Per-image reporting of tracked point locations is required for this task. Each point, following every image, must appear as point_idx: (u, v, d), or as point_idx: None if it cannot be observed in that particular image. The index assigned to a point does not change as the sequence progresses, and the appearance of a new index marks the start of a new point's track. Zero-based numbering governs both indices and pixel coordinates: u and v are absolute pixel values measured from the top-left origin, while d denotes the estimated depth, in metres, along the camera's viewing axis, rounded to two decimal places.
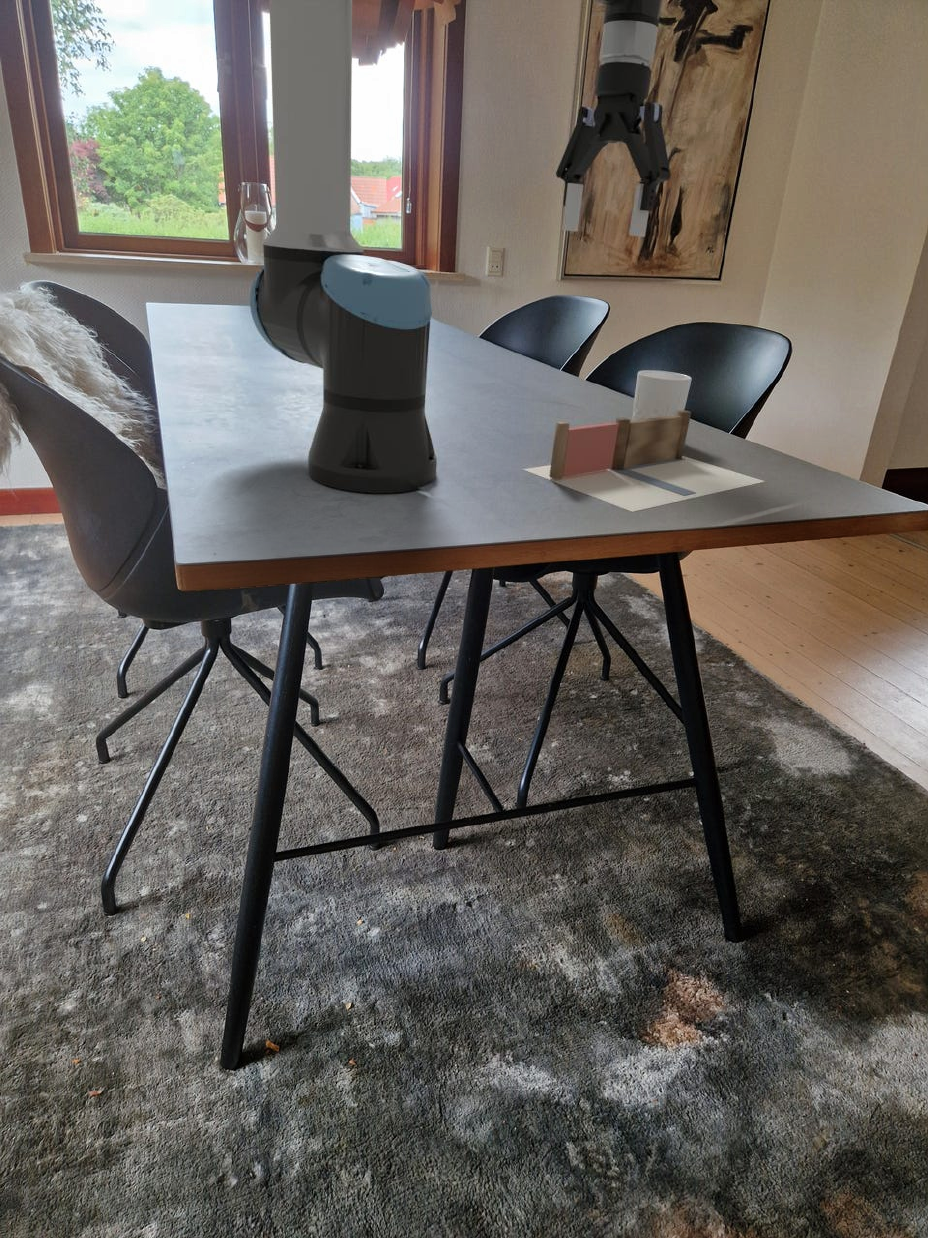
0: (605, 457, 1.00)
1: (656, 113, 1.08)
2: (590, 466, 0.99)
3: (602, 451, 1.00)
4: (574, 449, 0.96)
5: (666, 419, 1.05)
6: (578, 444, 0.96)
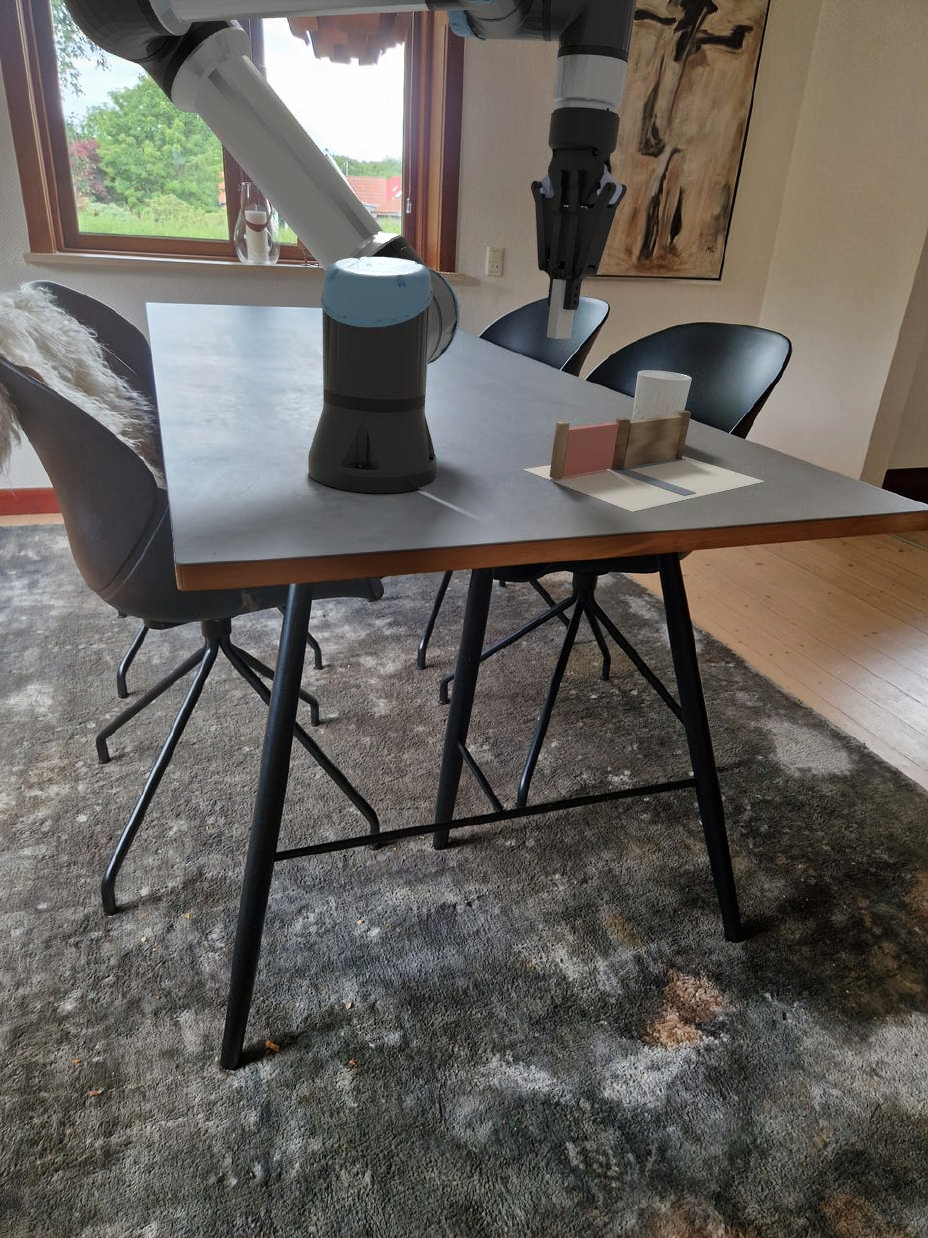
0: (605, 457, 1.00)
1: (614, 198, 0.85)
2: (590, 466, 0.99)
3: (602, 451, 1.00)
4: (574, 449, 0.96)
5: (666, 419, 1.05)
6: (578, 444, 0.96)
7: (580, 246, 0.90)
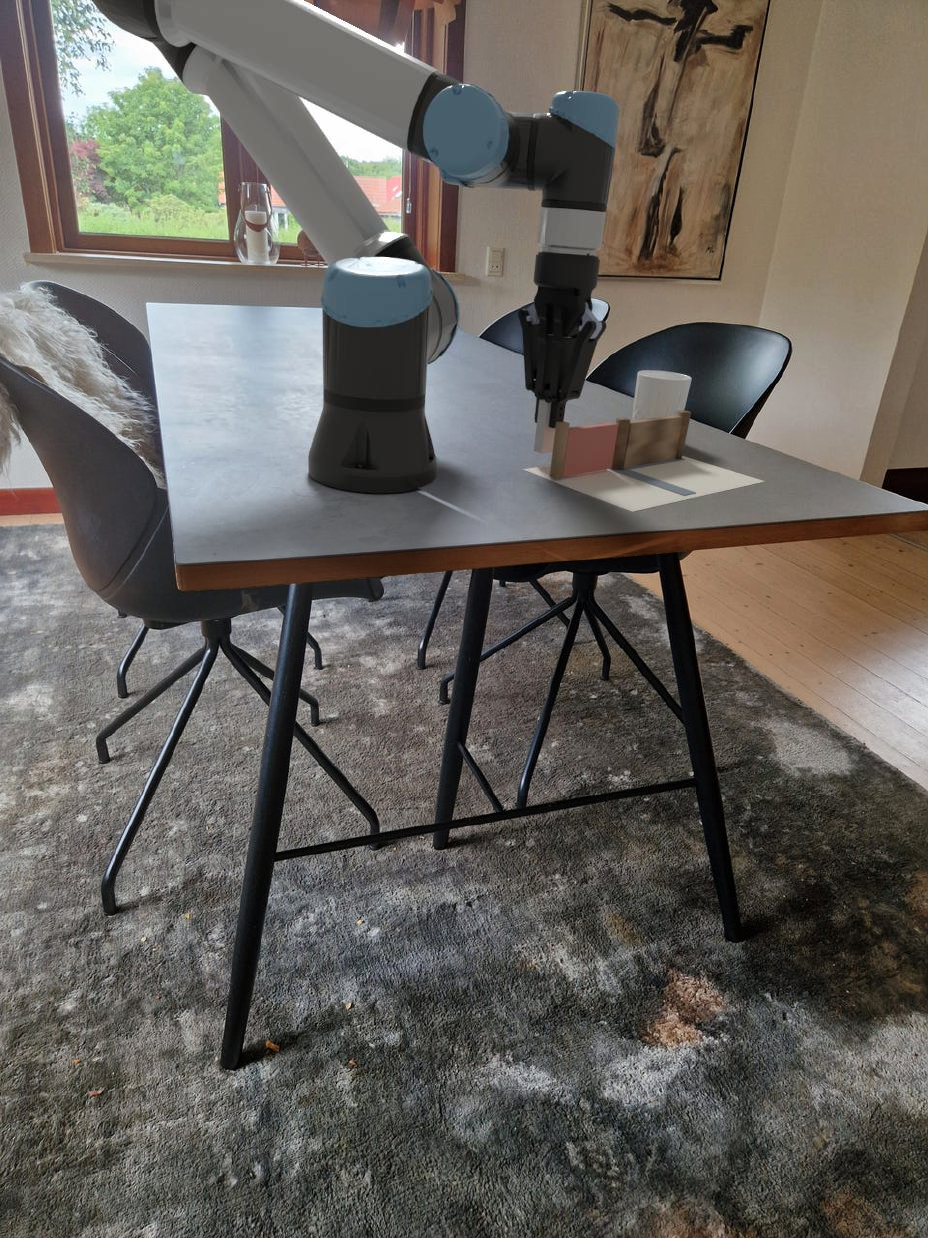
0: (605, 457, 1.00)
1: (594, 334, 0.92)
2: (590, 466, 0.99)
3: (602, 451, 1.00)
4: (574, 449, 0.96)
5: (666, 419, 1.05)
6: (578, 444, 0.96)
7: (564, 372, 0.96)
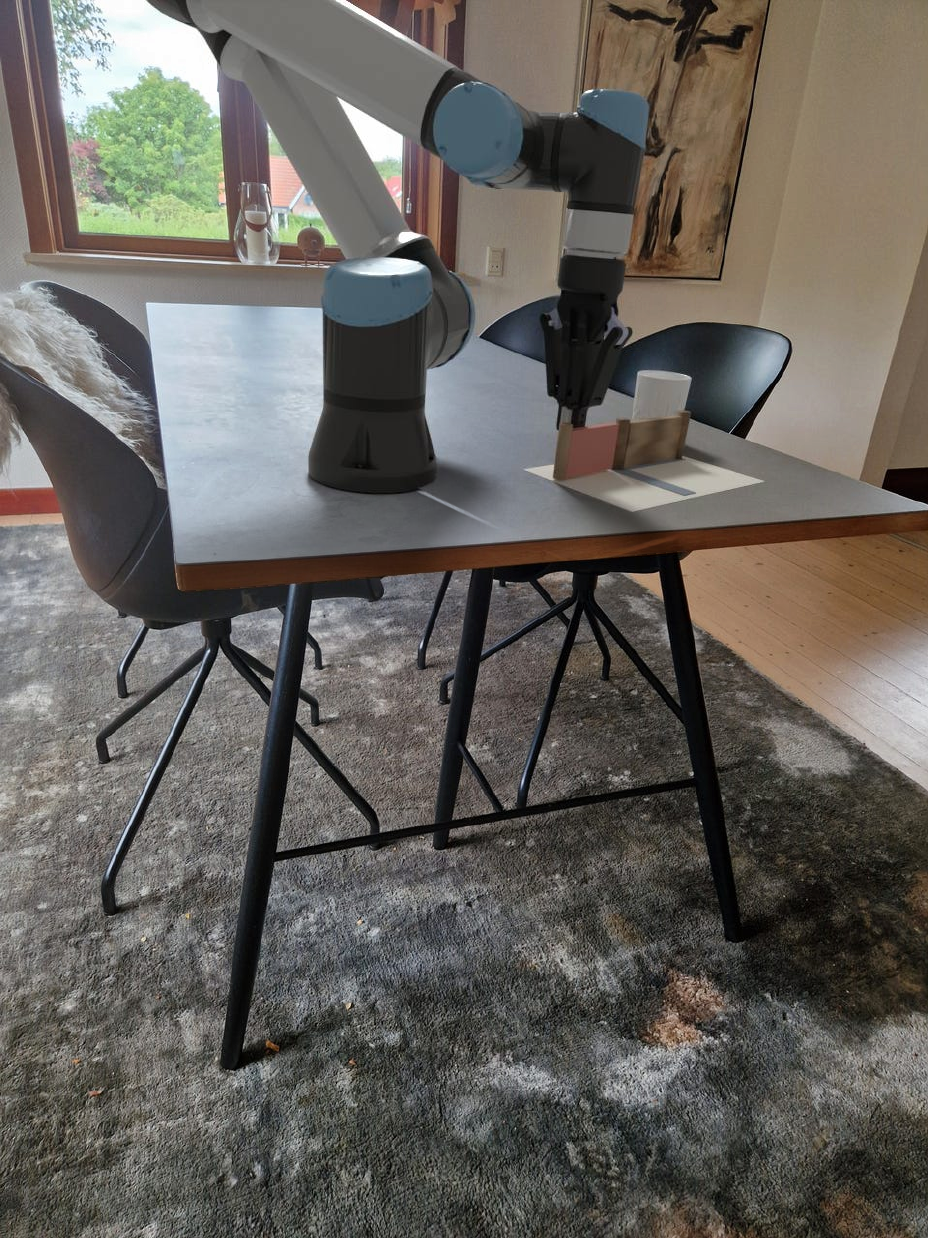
0: (606, 457, 1.00)
1: (620, 341, 0.89)
2: (592, 467, 0.99)
3: (603, 451, 1.00)
4: (577, 450, 0.96)
5: (666, 419, 1.05)
6: (581, 445, 0.96)
7: (587, 379, 0.94)
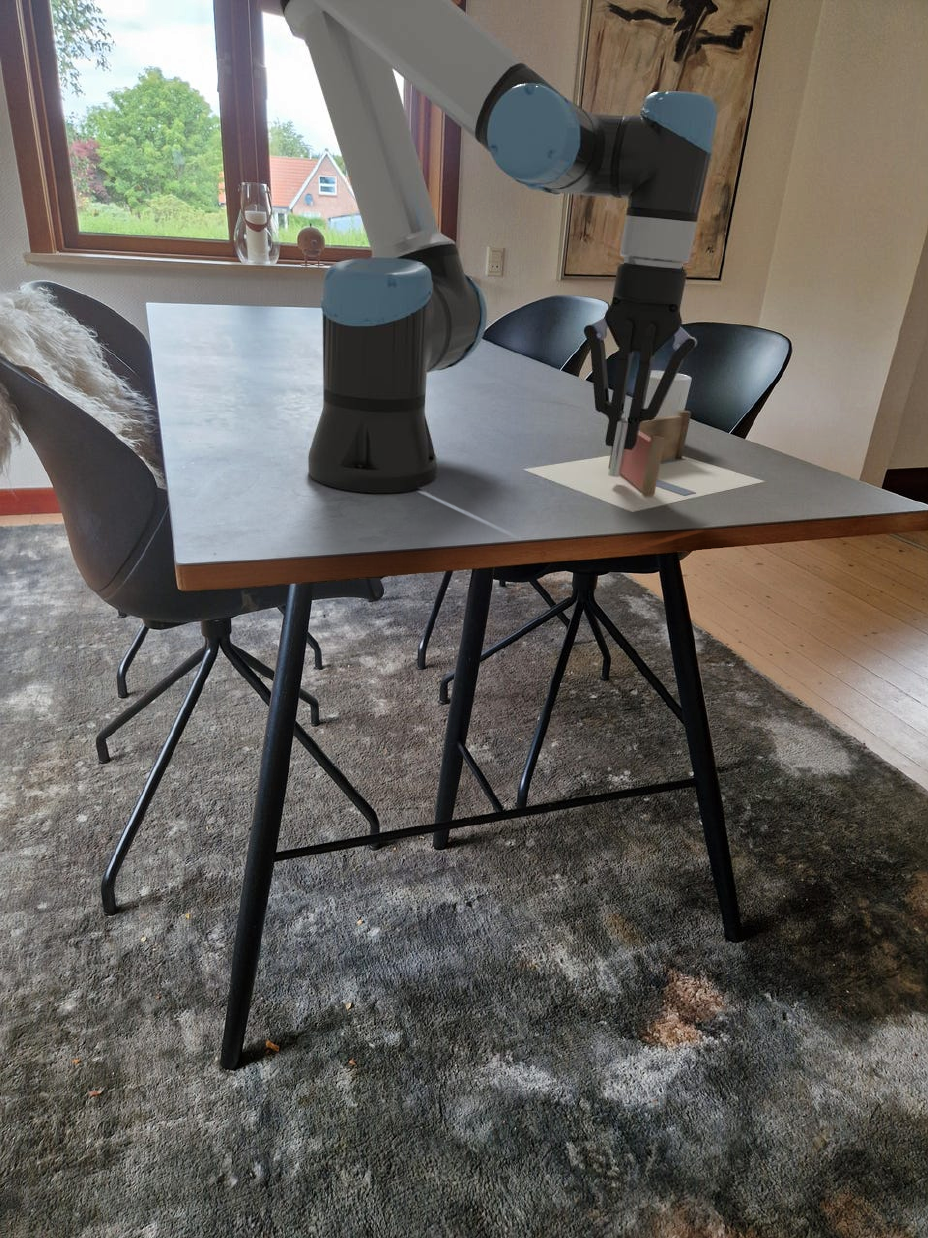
0: None
1: None
2: None
3: None
4: None
5: (666, 419, 1.05)
6: None
7: (645, 391, 0.91)
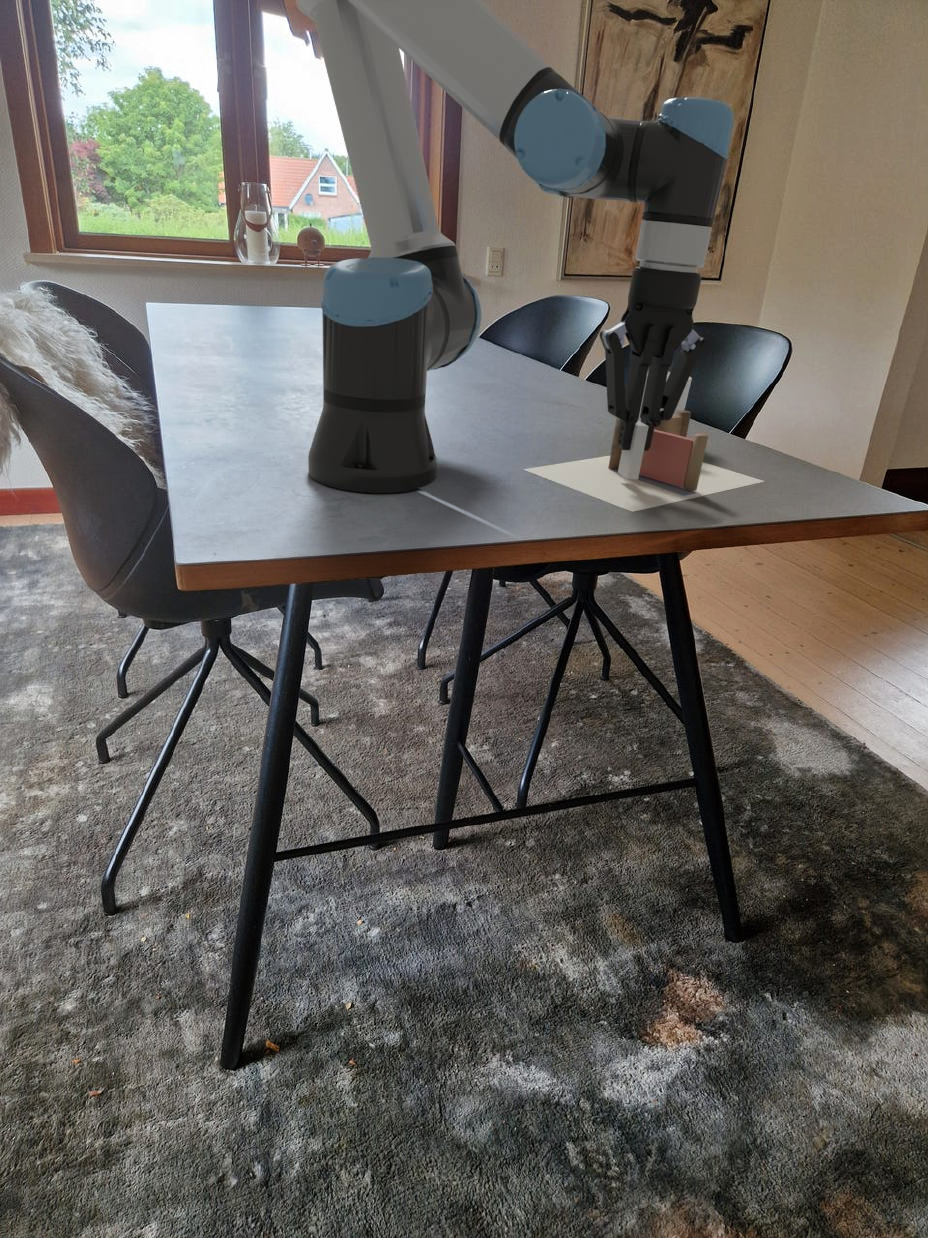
0: None
1: None
2: None
3: None
4: None
5: None
6: None
7: None
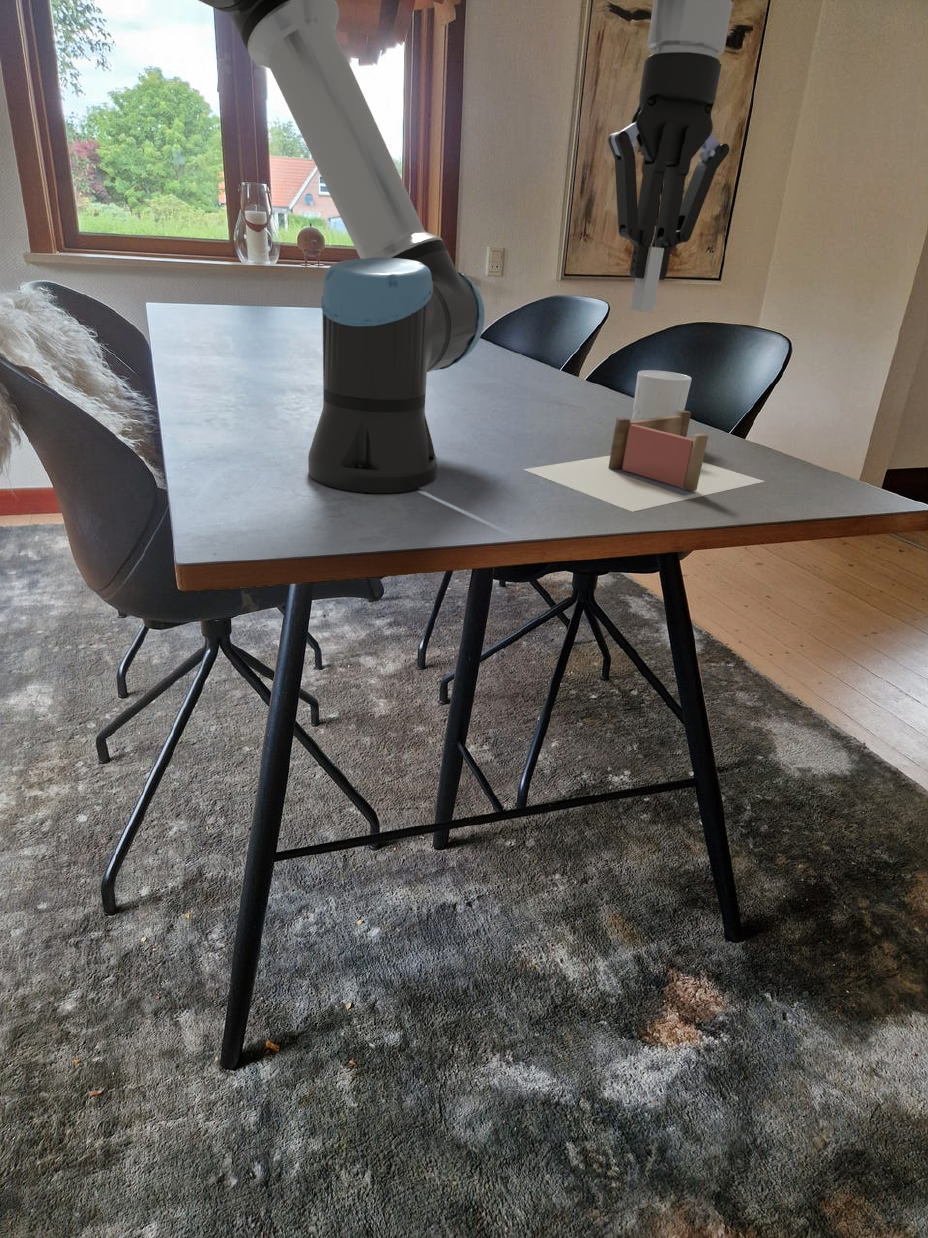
0: None
1: None
2: None
3: None
4: None
5: (666, 419, 1.05)
6: None
7: None
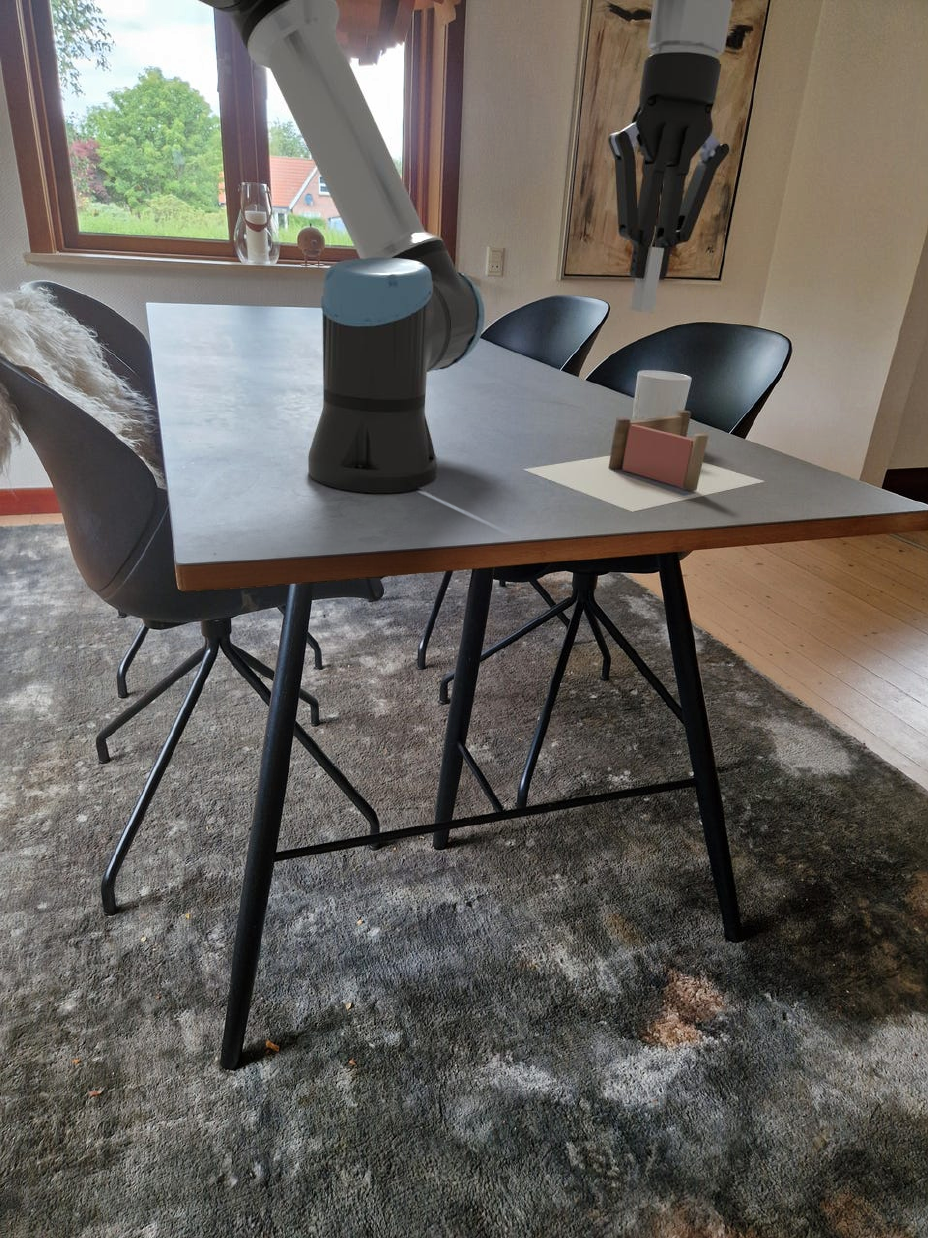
0: None
1: None
2: None
3: None
4: None
5: (666, 419, 1.05)
6: None
7: None
